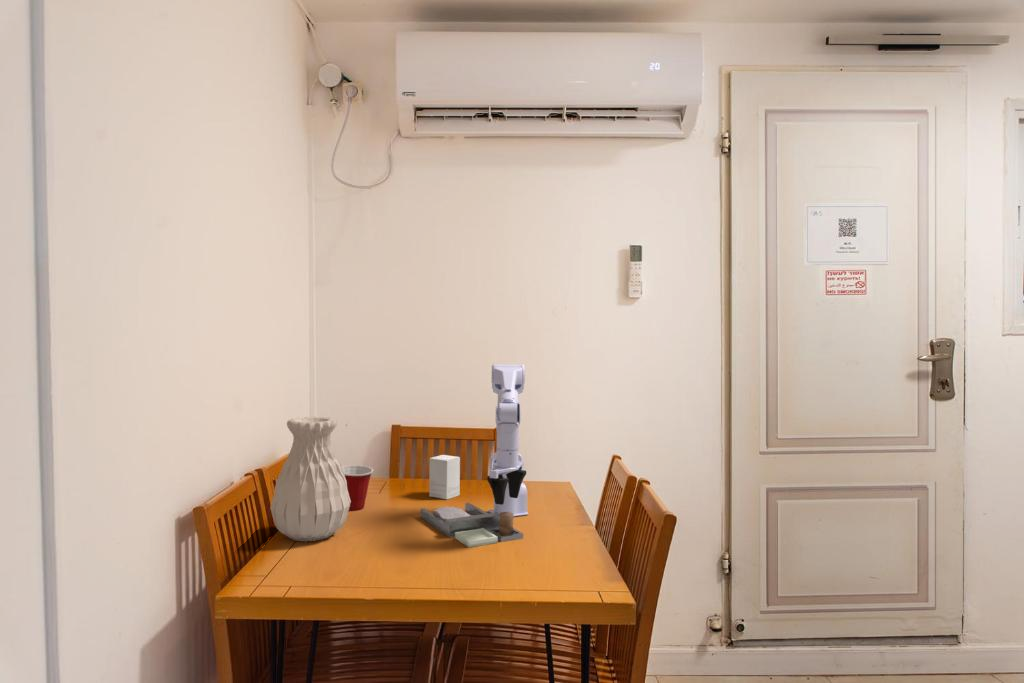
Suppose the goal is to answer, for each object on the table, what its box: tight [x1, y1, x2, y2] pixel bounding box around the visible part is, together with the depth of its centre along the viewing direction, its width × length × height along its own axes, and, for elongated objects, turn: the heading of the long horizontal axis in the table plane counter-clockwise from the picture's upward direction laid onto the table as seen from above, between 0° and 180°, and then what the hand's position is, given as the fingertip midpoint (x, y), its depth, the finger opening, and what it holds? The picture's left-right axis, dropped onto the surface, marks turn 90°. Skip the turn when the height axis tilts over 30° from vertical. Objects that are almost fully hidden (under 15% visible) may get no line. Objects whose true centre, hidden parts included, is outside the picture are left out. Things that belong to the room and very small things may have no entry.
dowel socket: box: [489, 527, 524, 543], centre depth 172 cm, size 7×7×1 cm
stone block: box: [432, 506, 473, 522], centre depth 182 cm, size 12×5×10 cm
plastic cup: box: [341, 464, 374, 512], centre depth 196 cm, size 11×11×12 cm
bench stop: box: [419, 502, 500, 539], centre depth 183 cm, size 15×21×4 cm
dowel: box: [499, 512, 514, 536], centre depth 172 cm, size 4×4×6 cm
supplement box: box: [428, 454, 461, 500], centre depth 213 cm, size 7×7×13 cm
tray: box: [454, 528, 499, 548], centre depth 168 cm, size 8×8×2 cm
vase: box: [270, 416, 351, 542], centre depth 171 cm, size 20×20×30 cm
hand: (506, 500), depth 172 cm, fingers open, 7 cm apart
